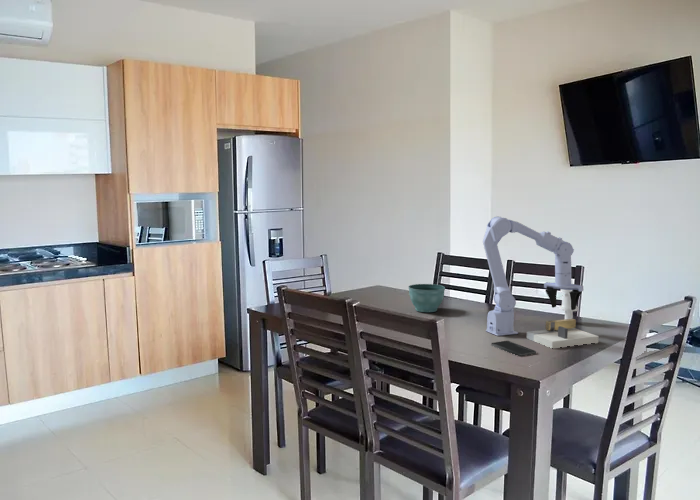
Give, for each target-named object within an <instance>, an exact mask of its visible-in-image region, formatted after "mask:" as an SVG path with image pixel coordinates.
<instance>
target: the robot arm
mask: <svg viewBox="0 0 700 500" xmlns="http://www.w3.org/2000/svg"><path fill="white" fill-rule="evenodd" d="M509 233H511V234H515V233H518V234H521V235H523V236H524V237H527V238H530V239H532V240H534V241H535V243H536V245H537V247H540V248H542V249H545V250H546V251H549V252H551V253H553V254H554V273H555V274H554V282H544V283H543V289H545V293H546V295H547V296H548V299H549V302H550V304H551V305H550V306H551V308H553V309H554V308H556V307H557V296H558V295H557V294H558V290H561V289H564V290H572V291H571V292H569V293H570V297H571V310H575V309H576V306H577V305H576V304H577V303H578V301H579V299H580V296H581V294H582V292H584V285H582V284H581V285H580V284H574V283H572V256H573V253H574V251H575V249H574V247H573V245H572V244H571V243H570V242H568V241H565V240H563V237H557V236H555V235H553V234H552V233H551V232H550V231H540V232H538V231H536V230H534V229H532V228H531V227H528V226H527V225H524V224H522V223H520V222H518V221H515V220H511V219H508V218H506V217H502V216H497V215H496V216H494V217H492V218H491V219H490V220H489V222H488V223H487V224H486V230H485V233H484V236H483V238H482V245H483V249H484V251H485V256H486V260H487V263H488V267H489V272H490V275H491V279H492V282H493V292H494V294H493V302H494V304H495V306H494V309H493V310H489V311H488V313H487V319H486V321H487V322H486V329H485V332H488V333H490V334H493V335H495V336H497V337H500V336H508V335H517V334H519V332H518V331H516V330H514V326H515V325H514V322H515V320H514V319H515V306H517V305H516V304H517V302H516V298H515V297H514V296H513V294H512V292H511V289H510V287H509V285H508V280H507V278H506V274H505V270H504V266H503V262H502V258H501V254H500V250H499V246H498V244H499V243H500V241H501V240H502V238H503V237H506V235H508V234H509Z"/></svg>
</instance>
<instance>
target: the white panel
mask: <svg viewBox="0 0 700 500" xmlns="http://www.w3.org/2000/svg"><path fill="white" fill-rule="evenodd" d="M599 338H600V337H599V335H597V334H593V333H590V332H588V331H587V332H586V331H584V330H581V329H578V328H568V329H567V328H564V327H561V326H559V327H558V330H555V331H548V330H546V329H540V330H532V331H531V330H530V331H526V340H530V341H532V342H535V343H537V344H539V343H540V345H542V346H544V345H545V347H547V348H549V347H550V349H552V348H553V349H561V348H560V347H562V348H568V347H567V346H570V347H575V346H574V345H578V346H584V345H583V344H587V345H592V344H591V343H595V344H599Z"/></svg>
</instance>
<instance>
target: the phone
mask: <svg viewBox="0 0 700 500" xmlns="http://www.w3.org/2000/svg"><path fill="white" fill-rule="evenodd" d="M490 346H491V347H493V346H494V348H497V349H498V348H499V350H501V351H503V350H504V352H506V351H507V352H506V353H508V352H509V354H511V353H512V354H511V355H513V354H515V355H514V356H516V355H518V356H517V357H525V356H524V355H527V356H531V354H533V355H536V354H537V351H536V350H534V349H532V348H530V347H529V348H528V347H525V346H523V345H520V344H518V343H516V342H513V341H509V340H503V341H502V340H501V341H496V342H491V345H490Z"/></svg>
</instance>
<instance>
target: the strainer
mask: <svg viewBox="0 0 700 500" xmlns="http://www.w3.org/2000/svg"><path fill="white" fill-rule="evenodd" d="M571 291H572V290H564V289H560V292H561V293H563V294H562V297H561V305H560V306H559V310H561V311H564V319H574V317H573V316H574V314H573V313H574V312H577V311H579V306H577V304H576V309H575V310H571V297H570V293H569V292H571Z"/></svg>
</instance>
